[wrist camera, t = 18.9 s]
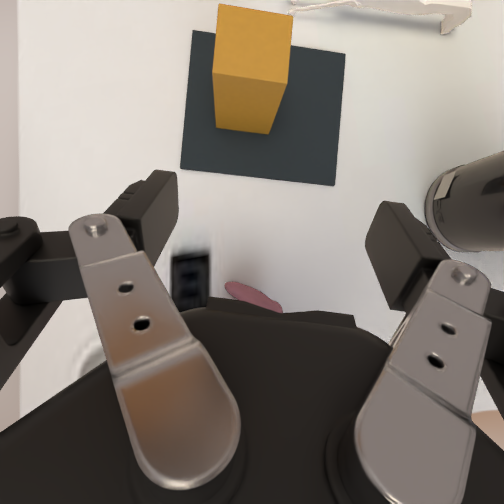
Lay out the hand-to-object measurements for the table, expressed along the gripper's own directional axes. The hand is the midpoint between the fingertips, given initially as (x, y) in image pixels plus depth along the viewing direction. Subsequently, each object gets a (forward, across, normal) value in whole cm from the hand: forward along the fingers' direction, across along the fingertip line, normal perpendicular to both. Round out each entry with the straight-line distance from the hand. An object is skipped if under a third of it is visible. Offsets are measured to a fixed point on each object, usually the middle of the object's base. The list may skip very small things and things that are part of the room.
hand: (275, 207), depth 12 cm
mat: (+23, +1, +1) cm, 23 cm away
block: (+22, +3, +1) cm, 22 cm away
